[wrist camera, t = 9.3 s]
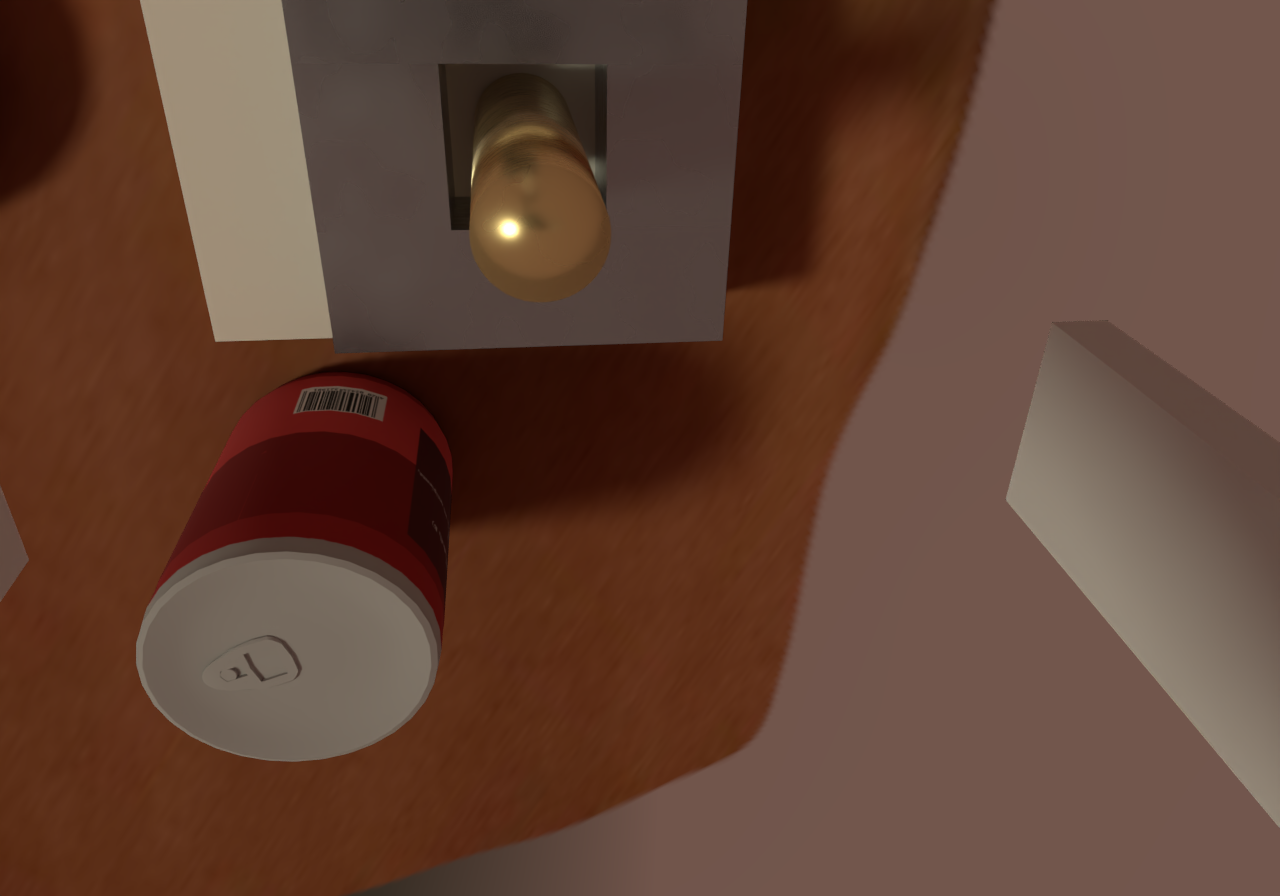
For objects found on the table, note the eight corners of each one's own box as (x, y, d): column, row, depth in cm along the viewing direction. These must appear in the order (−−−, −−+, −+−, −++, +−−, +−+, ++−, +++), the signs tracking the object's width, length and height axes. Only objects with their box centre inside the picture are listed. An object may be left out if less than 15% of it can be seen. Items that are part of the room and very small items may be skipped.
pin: (471, 71, 28) (465, 164, 19) (571, 73, 29) (612, 164, 19) (476, 172, 30) (473, 303, 21) (571, 172, 30) (609, 301, 21)
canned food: (183, 437, 34) (64, 648, 24) (365, 322, 32) (314, 497, 23) (326, 575, 37) (271, 804, 28) (494, 477, 36) (495, 682, 27)
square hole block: (291, -105, 26) (265, -105, 23) (725, -94, 27) (754, -92, 24) (350, 309, 32) (335, 353, 29) (701, 300, 33) (722, 340, 30)
